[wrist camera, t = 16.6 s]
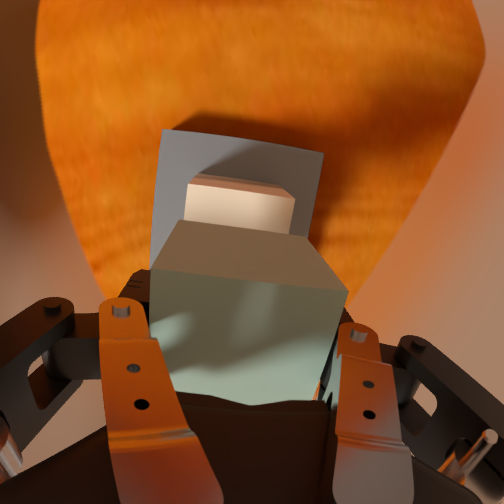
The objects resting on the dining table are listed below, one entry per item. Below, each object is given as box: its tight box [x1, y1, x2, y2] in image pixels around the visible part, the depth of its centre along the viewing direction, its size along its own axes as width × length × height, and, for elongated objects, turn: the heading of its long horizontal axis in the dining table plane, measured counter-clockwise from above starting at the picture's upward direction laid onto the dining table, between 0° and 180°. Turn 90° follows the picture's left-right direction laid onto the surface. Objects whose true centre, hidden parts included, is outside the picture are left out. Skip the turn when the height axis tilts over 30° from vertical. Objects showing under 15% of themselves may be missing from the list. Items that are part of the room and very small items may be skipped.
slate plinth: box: [149, 129, 324, 270], centre depth 26 cm, size 12×12×3 cm
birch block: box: [184, 173, 295, 234], centre depth 21 cm, size 6×6×6 cm
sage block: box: [149, 220, 349, 405], centre depth 11 cm, size 5×5×5 cm
